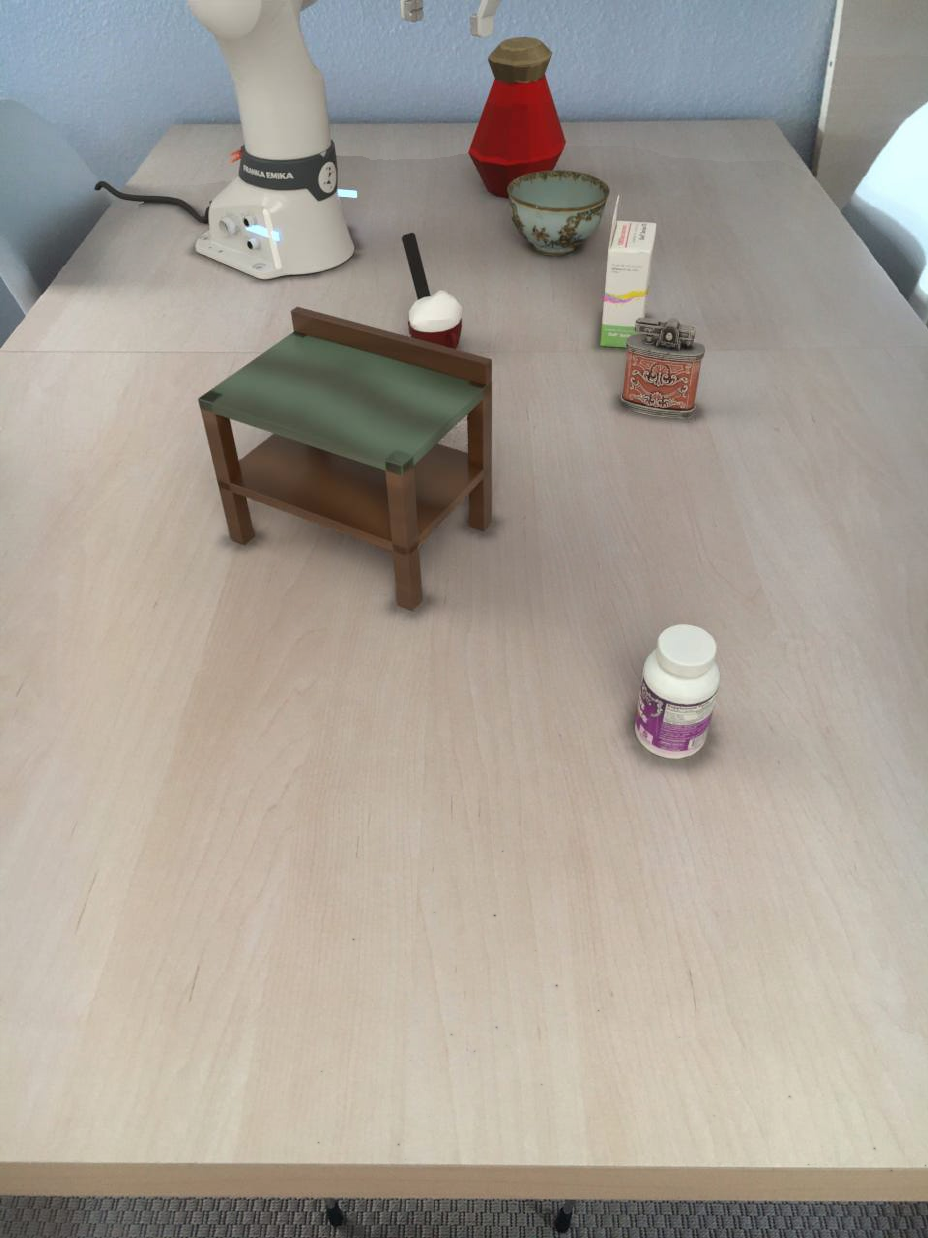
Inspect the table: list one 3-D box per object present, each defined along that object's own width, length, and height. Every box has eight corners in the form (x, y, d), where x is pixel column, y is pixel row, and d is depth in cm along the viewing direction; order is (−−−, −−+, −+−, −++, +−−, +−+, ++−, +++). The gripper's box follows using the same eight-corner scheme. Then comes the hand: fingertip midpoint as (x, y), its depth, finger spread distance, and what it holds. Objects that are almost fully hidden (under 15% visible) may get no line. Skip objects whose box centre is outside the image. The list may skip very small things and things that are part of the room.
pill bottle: (627, 709, 76) (640, 618, 69) (695, 704, 76) (714, 613, 70) (642, 765, 72) (657, 674, 65) (714, 759, 72) (736, 668, 66)
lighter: (697, 405, 107) (711, 319, 100) (691, 421, 105) (705, 334, 98) (623, 393, 109) (632, 308, 102) (616, 409, 107) (625, 323, 100)
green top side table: (412, 611, 84) (400, 443, 73) (230, 540, 92) (192, 376, 80) (492, 522, 93) (492, 358, 81) (319, 463, 100) (296, 305, 89)
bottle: (519, 163, 161) (522, 22, 147) (583, 184, 154) (592, 38, 140) (449, 190, 153) (446, 44, 139) (513, 213, 146) (515, 62, 132)
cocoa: (468, 364, 114) (466, 263, 106) (414, 369, 114) (408, 268, 105) (455, 326, 121) (453, 228, 113) (404, 330, 120) (398, 233, 112)
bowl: (491, 259, 135) (491, 199, 129) (524, 221, 143) (526, 164, 138) (588, 274, 131) (592, 213, 125) (616, 234, 140) (621, 176, 134)
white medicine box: (641, 350, 116) (656, 224, 106) (598, 347, 117) (609, 221, 106) (646, 316, 122) (660, 194, 112) (606, 313, 123) (616, 191, 112)
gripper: (337, -154, 91) (351, 17, 101) (503, -137, 81) (502, 52, 91) (386, -161, 95) (395, 5, 104) (552, -146, 84) (545, 37, 94)
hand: (446, 27), depth 97 cm, fingers open, 8 cm apart
